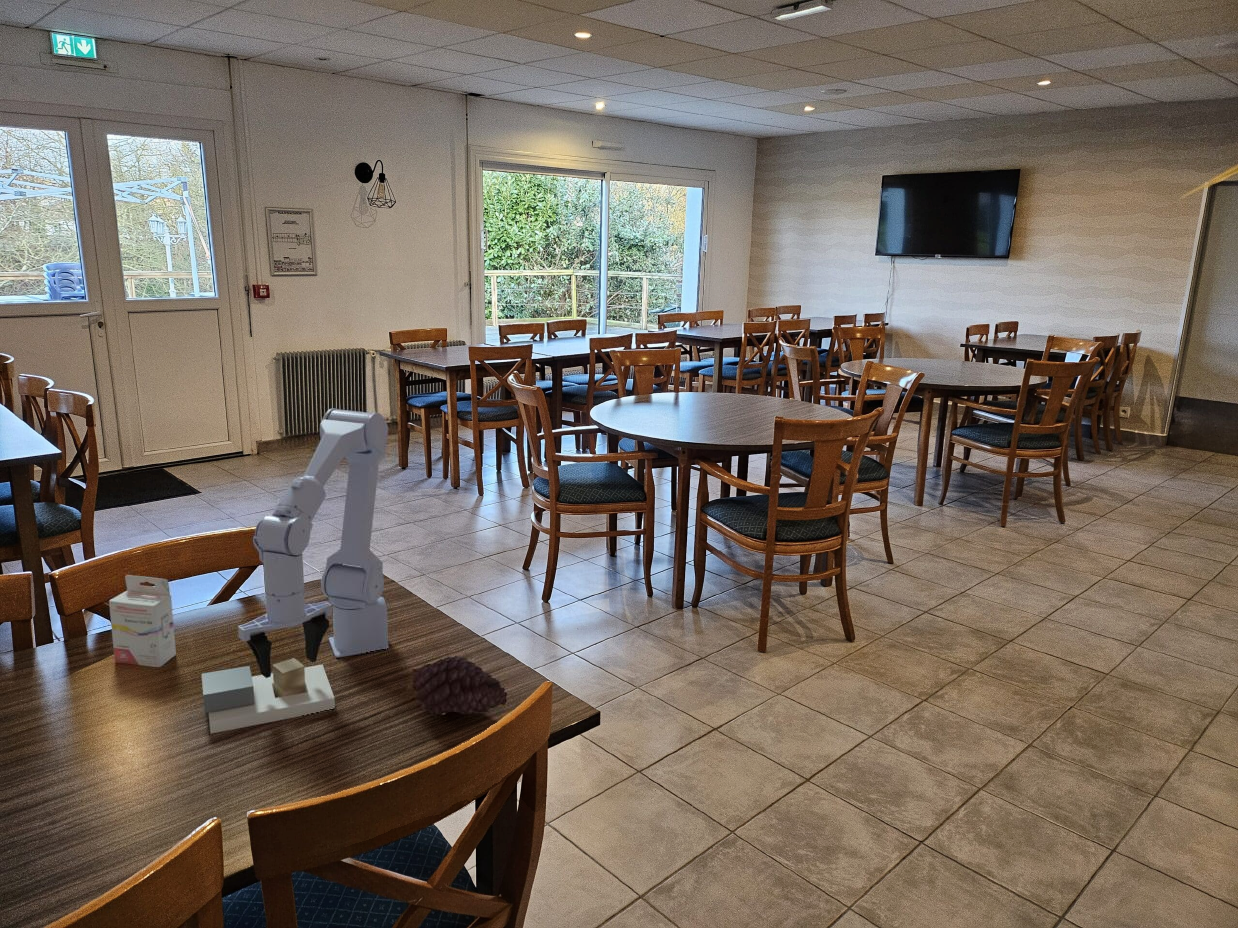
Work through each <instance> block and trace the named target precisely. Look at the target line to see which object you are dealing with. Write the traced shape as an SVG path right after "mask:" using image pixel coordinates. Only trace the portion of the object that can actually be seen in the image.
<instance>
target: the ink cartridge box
mask: <svg viewBox="0 0 1238 928" xmlns="http://www.w3.org/2000/svg"><path fill="white" fill-rule="evenodd" d="M124 580H125V585H126V591H123V592H122V593H120V594H118V595H117V596H115V597H113V598H111V599H110V600H109V601H108V604H109V615H110V625H111V637H112V644H113V645H112V647H113V656H114V663H119V664H129V665H135V666H136V665H137V666H144V667H152V668H162V666H164V665H165V664H166V663H167V662H168V661H170V660H171V659H172V658H174V657H175V656H176V655H177V654H176V653H177V652H176V650H177V649H176V640H175V639H176V638H175V627H174V614H173V603H172V595H171V591H170V585H169V579H168V578H167V579H166V578H159V577H152V576H143V575H141V576H140V575H133V574H131V575H130V574H126V575H125V576H124ZM146 582H148V583H149V584H153V585H154V586H150V585H143V584H142V585H141V583H146Z"/></svg>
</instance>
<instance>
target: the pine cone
mask: <svg viewBox="0 0 1238 928" xmlns="http://www.w3.org/2000/svg"><path fill="white" fill-rule="evenodd" d="M412 672H413V677H412V682H410V683H409V684H408V685H407V687H406V690H407V691H415V692H416V694H415V699H416V700H417V701H418V702H421V709H422V710H423V711H429V713H430V714H431V715H432V716H433V717H435V716H438V715H440V714H443V713H447V712H448V713H454V712H455V713H459V714H461V715H466V714H467V715H472V714H475V715H478V714H480V713H487V712H488V711H490V710H491V709H495V708H498V707H499V706H501V705H502V706H505V705H506V703H507V702H508V700H507V697H508V692H505V691H506V689H505V687H501V682H500V681H499V680H498V679H496V678H495V677H493V676H492V675H491V674H490V673H488V672H485V671H484V670H483V668H482V667H481V666H479V665H476V663H474V662H473V661H469V660H468V659H467V658H466V657H459V656H457V655H455V656H447V657H445V658H440V659H439V660H436V661H434V662H433V663H432V664H431V663H426V664H424V665H422V666H420V667H418V668H412ZM448 713H447V714H448Z"/></svg>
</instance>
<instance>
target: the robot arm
mask: <svg viewBox="0 0 1238 928" xmlns="http://www.w3.org/2000/svg"><path fill="white" fill-rule="evenodd" d="M388 433H389V426H388V423H387V422H386V419H385V418H384V416H383V415H382V414H381V413H380V412H364V411H356V410H355V411H354V410H346V409H339V408H337V407H336V408H333V407H332V408H329V409H328V410H327V411H326V412H325V414H324V416H322V420H321V422H320V424H319V436H320V441H319V443H318V445H317V447H316V449H315V451H314V453H313V456H312V458H311V460H310V462H309V464H308V466H307V468H306V471H305V472H304V474H303V476H300V477H296V478H294V479H293V480H292V481H291V482H290V484H289V485H288V487H287V489H286V491H285V492H284V493H283V496H282V498H281V499H280V500H279V502H278V503H277V506H276V507H275V508H274V510H273V512H272V513H271V514H269V515H267V516H265V517H263V518H262V519H260V520H259V521H258V523H257V525H256V526H255V531H254V535H253V538H252V542H253V546H254V547H255V549H256V550H257V552H258V555H259V561H260V562H261V563H262V564H263V576H264V593H265V607H266V609H265V610H266V613H265V614H263V615H261V616H258V617H257V618H255V619H253V620H251V621H248V622H246V623H244V624H241V625H237V635H238V638H239V640H241V641H242V642H246V644H247V645H248V646H249V648H250V649H251V651H252V653H253V655H254V657H255V660H256V662H257V665H258V668H259V671H260V675H263V676H264V677H265V678H268V677H271V673H272V666H271V653H272V652H271V650H272V645H273V642H272V641H270V640H269V639H268V636H267V635H266V634H268V633H271V632H274V631H277V630H281V629H287V628H293V627H296V626H298V625H301V624H302V627H303V633H304V642H305V643H304V644H305V646H304V647H305V657H306V659H307V660H309V661H310V662H311V663H315V662H317V659H318V656H319V655H318V654H319V650H320V647H321V644H322V641H323V638H324V637H325V634H326V632H327V631H328V630H329V628H330V620H329V619H328V617H331V616H332V622H333V623H332V628H333V630H332V631H333V636H330V637H328V641H329V645H330V646H331V649H332V651H333V654H334V656H335V658H337V659H338V658H343V657H344V658H345V657H349V656H354V655H355V656H356V655H361V653H362V654H367V653H366V652H368V653H371V652H370V651H374V652H376V651H375V650H380V649H386V650H388V649H390V647H389V635H388V634H389V631H388V630H389V625H388V619H389V618H388V609H387V603H386V600H385V598H384V596H381V595H382V594H383V591H384V585H385V579H384V574H383V573H384V572H383V570H384V569H383V568H384V566H383V564H384V563H383V561H382V560H381V558H379V557H378V556H377V555H376V554H375V553H374V552H373V551H372V550H371V541H372V534H373V533H372V531H373V530H372V529H373V524H374V523H373V522H374V512H375V505H376V504H375V503H376V493H377V485H378V475H379V465H380V460H382V459H384V458H385V457H386V452H387V451H386V450H387V444H388ZM344 459H346V460H347V462H348V463H349V465H348V473H347V474H348V475H347V482H346V484H347V485H346V490H345V491H346V493H345V502H344V511H343V518H342V519H343V521H342V528H341V529H342V530H341V537H340V548H339V549H338V550H336V551H335V552H334V553H331V555H328V556H327V558H326V563H325V568H324V571H323V573H322V575H321V578H320V579H321V580H320V586H321V587H320V588H321V591H322V593H323V595H324V596H325V597H326V598H328V601H326V600H325V601H321V602H316V603H314V602H313V603H309V604H306V600H305V599H306V598H305V597H306V596H305V579H304V577H305V576H304V557H303V553H304V551H305V550H306V549H307V547H308V546H309V543H310V539H311V533H312V529H313V523H312V521H313V520H314V518H315V517H316V515H317V513H318V511H319V509H320V508H321V505H322V504H323V502H324V500H325V498H326V495H327V493H326V490H325V488H324V486H325V485H326V483H327V482H328V480H330V478H331V477H332V475H333V474H334V472H335V471H336V469H337V468H338V466H340V464H341V462H342V461H343V460H344ZM326 617H327V618H326ZM387 648H388V649H387ZM380 651H381V650H380Z"/></svg>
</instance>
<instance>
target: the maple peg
mask: <svg viewBox="0 0 1238 928" xmlns="http://www.w3.org/2000/svg"><path fill="white" fill-rule="evenodd" d="M304 668H305V665H304V664H302V663H301V661H299V660H298V659H296V658H295V657H293V658H290V659H286V660H284V661H280V662H277V663H274V664H272V673H273V682H274V696H275V698H278V697H284V696H289V695H295V694H300V693H306V692H305V670H304Z"/></svg>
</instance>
